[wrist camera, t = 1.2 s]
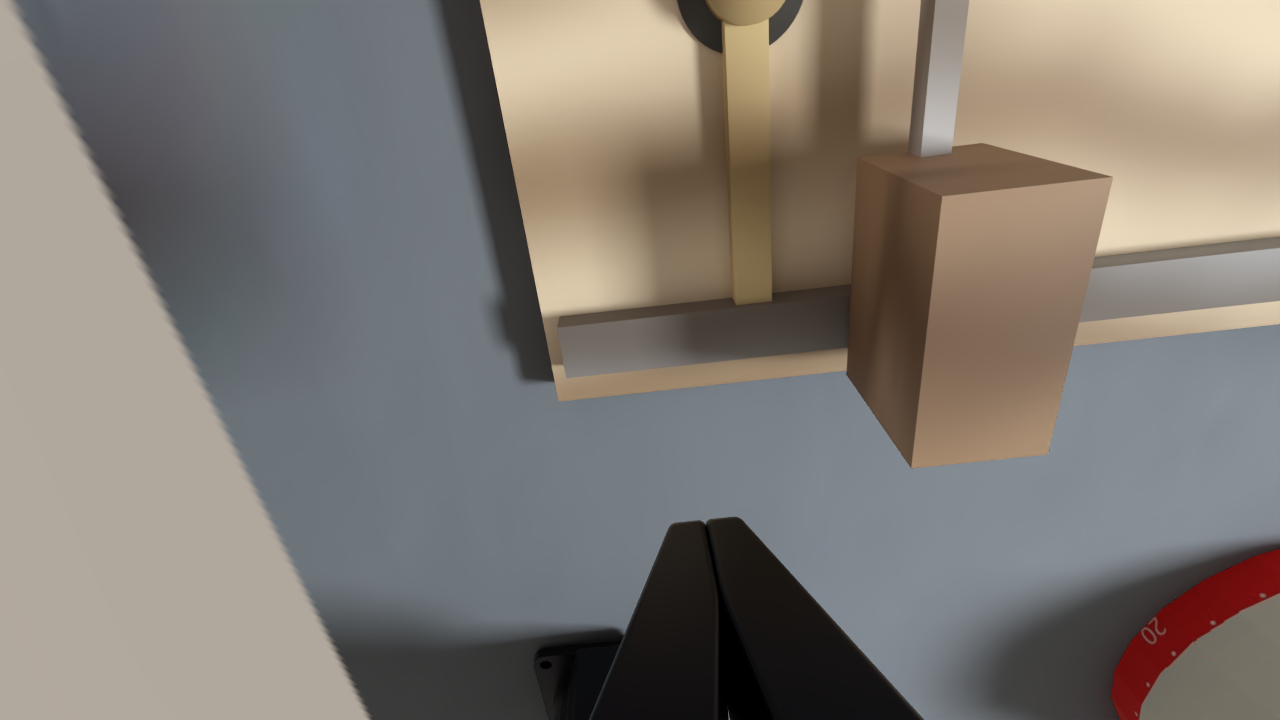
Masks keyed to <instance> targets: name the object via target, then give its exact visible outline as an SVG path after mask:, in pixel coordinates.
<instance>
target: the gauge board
mask: <svg viewBox="0 0 1280 720" xmlns="http://www.w3.org/2000/svg"><path fill="white" fill-rule="evenodd" d="M480 4H481V9H482V14H483V19H484V24H485V30H486V35H487V40H488V45H489V50H490V55H491V60H492V65H493V70H494V75H495V80H496V85H497V91H498V96H499V101H500V106H501V111H502V116H503V121H504V126H505V131H506V136H507V141H508V147H509V152H510V157H511V162H512V167H513V172H514V177H515V182H516V187H517V192H518V197H519V202H520V208H521V213H522V218H523V223H524V228H525V233H526V238H527V243H528V248H529V253H530V258H531V264H532V269H533V274H534V279H535V284H536V289H537V294H538V299H539V304H540V309H541V314H542V319H543V325H544V330H545V335H546V340H547V345H548V350H549V355H550V360H551V365H552V370H553V375H554V381H555V386H556V391H557V396H558V401H568V400H577V399H586V398H596V397H605V396H614V395H624V394H633V393H642V392H652V391H661V390H670V389H679V388H689V387H698V386H707V385H717V384H726V383H735V382H745V381H754V380H763V379H772V378H782V377H791V376H800V375H810V374H819V373H828V372H838V371H847V355H848V335H849V315H850V295H851V275H852V256H853V236H854V216H855V196H856V177H857V158H858V157H866V156H875V155H883V154H892V153H900V152H908V145H909V134H910V122H911V110H912V99H913V87H914V76H915V64H916V52H917V41H918V29H919V18H920V6H921V0H480ZM978 143H985V144H989V145H992V146H996V147H1000V148H1004V149H1008V150H1012V151H1016V152H1019V153H1023V154H1027V155H1031V156H1035V157H1039V158H1043V159H1046V160H1050V161H1054V162H1058V163H1062V164H1066V165H1069V166H1073V167H1077V168H1081V169H1085V170H1089V171H1093V172H1096V173H1100V174H1104V175H1108V176H1112V177H1113V180H1112V185H1111V189H1110V193H1109V197H1108V202H1107V206H1106V210H1105V214H1104V219H1103V223H1102V227H1101V231H1100V236H1099V240H1098V244H1097V248H1096V252H1095V257H1094V261H1093V265H1092V269H1091V274H1090V278H1089V282H1088V286H1087V291H1086V295H1085V299H1084V303H1083V308H1082V312H1081V316H1080V320H1079V324H1078V329H1077V333H1076V337H1075V341H1074V346H1079V345H1089V344H1098V343H1107V342H1116V341H1126V340H1135V339H1144V338H1154V337H1163V336H1172V335H1182V334H1191V333H1200V332H1209V331H1219V330H1228V329H1237V328H1247V327H1256V326H1265V325H1275V324H1280V0H969V7H968V16H967V25H966V33H965V42H964V50H963V59H962V67H961V76H960V84H959V93H958V101H957V110H956V118H955V127H954V136H953V144H952V146H961V145H969V144H978Z"/></svg>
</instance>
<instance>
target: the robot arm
mask: <svg viewBox="0 0 1280 720" xmlns="http://www.w3.org/2000/svg"><path fill="white" fill-rule="evenodd" d="M534 668H535V672H536V675H537V679H538V682H539V686H540V689H541V693H542V697H543V700H544V704H545V707H546V711H547V714H548V718H549V720H729V719H728V711H729V717H730V720H924V719H923V718H922V717H921V716H920V715H919V714H918V712H917V711H916V710H915V709H914V708H913V707H912V706H911V705H910V704H909V703H908V701H907V700H906V699H905V698H904V697H903V696H902V695H901V694H900V693H899V692H898V691H897V689H896V688H895V687H894V686H893V685H892V684H891V683H890V682H889V681H888V680H887V678H886V677H885V676H884V675H883V674H882V673H881V672H880V671H879V670H878V669H877V667H876V666H875V665H874V664H873V663H872V662H871V661H870V660H869V659H868V658H867V656H866V655H865V654H864V653H863V652H862V651H861V650H860V649H859V648H858V647H857V645H856V644H855V643H854V642H853V641H852V640H851V639H850V638H849V637H848V636H847V634H846V633H845V632H844V631H843V630H842V629H841V628H840V627H839V626H838V625H837V624H836V622H835V621H834V620H833V619H832V618H831V617H830V616H829V615H828V614H827V613H826V611H825V610H824V609H823V608H822V607H821V606H820V605H819V604H818V603H817V602H816V600H815V599H814V598H813V597H812V596H811V595H810V594H809V593H808V592H807V591H806V589H805V588H804V587H803V586H802V585H801V584H800V583H799V582H798V581H797V580H796V578H795V577H794V576H793V575H792V574H791V573H790V572H789V571H788V570H787V569H786V567H785V566H784V565H783V564H782V563H781V562H780V561H779V560H778V559H777V558H776V557H775V555H774V554H773V553H772V552H771V551H770V550H769V549H768V548H767V547H766V546H765V544H764V543H763V542H762V541H761V540H760V539H759V538H758V537H757V536H756V535H755V533H754V532H753V531H752V530H751V529H750V528H749V527H748V526H747V525H746V524H745V522H744V521H743V520H742V519H740V518H738V517H727V518H717V519H710V520H708V521H707V522H706V524H704V522H702V521H700V520H697V521H688V522H678V523H673V524H672V525H671V526H670V527H669V529H668V531H667V533H666V536H665V538H664V540H663V543H662V545H661V548H660V550H659V553H658V555H657V557H656V560H655V562H654V565H653V567H652V569H651V572H650V574H649V577H648V579H647V581H646V584H645V586H644V589H643V591H642V593H641V596H640V598H639V601H638V603H637V606H636V608H635V610H634V613H633V615H632V618H631V620H630V622H629V625H628V627H627V630H626V632H625V634H624V637H623V639H622V641H616V642H606V643H595V644H585V645H575V646H564V647H554V648H544V649H540V650H539V651H537V652H536V654H535V659H534Z"/></svg>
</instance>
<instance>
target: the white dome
mask: <svg viewBox="0 0 1280 720" xmlns="http://www.w3.org/2000/svg"><path fill="white" fill-rule="evenodd" d="M1111 698H1112V701H1113V703H1114V706H1115V708H1116V711H1117V713H1118V716H1119V718H1120V720H1280V549H1277V550H1274V551H1270V552H1267V553H1263V554H1260V555H1256V556H1254V557H1251V558H1249V559H1247V560H1245V561H1243V562H1241V563H1239V564H1237V565H1234V566H1232V567H1230V568H1228V569H1226V570H1224V571H1222V572H1220V573H1218V574H1215V575H1213V576H1211V577H1209V578H1207V579H1205V580H1203V581H1202V582H1200V583H1199V584H1197V585H1196V586H1194V587H1193V588H1192V589H1190V590H1189V591H1187V592H1186V593H1184V594H1183V595H1181V596H1180V597H1179V598H1177V599H1176V600H1174V601H1173V602H1171V603H1170V604H1168V605H1167V606H1165V607H1164V608H1163V609H1161V610H1160V612H1159V613H1158V614H1157V615H1156V616H1155V617H1154V618H1153V619H1152V620H1151V621H1150V622H1149V623H1148V624H1147V625H1146V626H1145V627H1144V628H1143V629H1142V630H1141V631H1140V632H1139V633H1138V634H1137V635H1136V636H1135V637H1134V638H1133V639H1132V640H1131V642H1130V644H1129V646H1128V648H1127V649H1126V651H1125V653H1124V655H1123V656H1122V658H1121V660H1120V662H1119V664H1118V665H1117V667H1116V669H1115V672H1114V679H1113V687H1112V694H1111Z"/></svg>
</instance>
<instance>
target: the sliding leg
mask: <svg viewBox="0 0 1280 720" xmlns="http://www.w3.org/2000/svg"><path fill="white" fill-rule="evenodd" d="M968 7H969V0H921V6H920V18H919V29H918V41H917V52H916V64H915V76H914V87H913V99H912V110H911V122H910V134H909V145H908V152H900V153H892V154H883V155H875V156H866V157H858V158H857V177H856V196H855V216H854V236H853V256H852V275H851V295H850V315H849V335H848V355H847V374H846V375H847V376H848V378H849V379H850V380H851V382H852V383H853V385H854V386H855V388H856V389H857V391H858V392H859V393H860V395H861V396H862V398H863V399H864V401H865V402H866V404H867V405H868V406H869V408H870V409H871V411H872V412H873V414H874V415H875V417H876V418H877V419H878V421H879V422H880V424H881V425H882V427H883V428H884V430H885V431H886V433H887V434H888V435H889V437H890V438H891V440H892V441H893V443H894V444H895V446H896V447H897V448H898V450H899V451H900V453H901V454H902V456H903V457H904V459H905V460H906V461H907V463H908V464H909V466H910V467H911V468H920V467H929V466H939V465H949V464H958V463H968V462H978V461H987V460H997V459H1007V458H1017V457H1026V456H1036V455H1046V454H1048V452H1049V447H1050V443H1051V439H1052V435H1053V430H1054V426H1055V422H1056V418H1057V413H1058V409H1059V405H1060V401H1061V396H1062V392H1063V388H1064V384H1065V380H1066V375H1067V371H1068V367H1069V363H1070V358H1071V354H1072V350H1073V346H1074V341H1075V337H1076V333H1077V329H1078V324H1079V320H1080V316H1081V312H1082V308H1083V303H1084V299H1085V295H1086V291H1087V286H1088V282H1089V278H1090V274H1091V269H1092V265H1093V261H1094V257H1095V252H1096V248H1097V244H1098V240H1099V236H1100V231H1101V227H1102V223H1103V219H1104V214H1105V210H1106V206H1107V202H1108V197H1109V193H1110V189H1111V185H1112V180H1113V177H1112V176H1108V175H1104V174H1100V173H1096V172H1093V171H1089V170H1085V169H1081V168H1077V167H1073V166H1069V165H1066V164H1062V163H1058V162H1054V161H1050V160H1046V159H1043V158H1039V157H1035V156H1031V155H1027V154H1023V153H1019V152H1016V151H1012V150H1008V149H1004V148H1000V147H996V146H992V145H989V144H985V143H978V144H969V145H961V146H952V144H953V136H954V127H955V118H956V110H957V101H958V93H959V84H960V76H961V67H962V59H963V50H964V42H965V33H966V25H967V16H968Z"/></svg>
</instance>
